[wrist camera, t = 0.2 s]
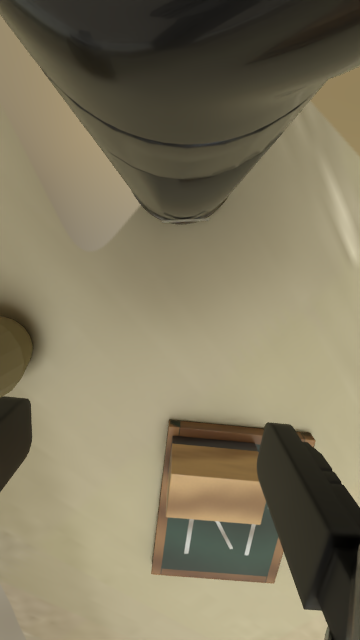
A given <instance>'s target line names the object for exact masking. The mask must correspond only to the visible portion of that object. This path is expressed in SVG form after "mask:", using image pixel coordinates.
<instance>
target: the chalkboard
mask: <svg viewBox="0 0 360 640" xmlns="http://www.w3.org/2000/svg"><path fill="white" fill-rule="evenodd" d="M263 432H264V429H262V428H251V427H241V426H230V425H219V424H209V423H198V422H188V421H176V420H169V426H168V434H167V443H166V451H165V460H164V468H163V477H162V485H161V494H160V502H159V511H158V519H157V527H156V536H155V544H154V553H153V561H152V572H151V574H155V575H167V576H181V577H194V578H207V579H221V580H234V581H248V582H261V583H274V582H275V579H276V575H277V572H278V568H279V565H280V562H281V558H282V555H283V548H282V545H281V543H280V540H279V537H278V534H277V531H276V528H275V525H274V523H273V520H272V517H271V514H270V511H269V508H268V506H267V503H266V504H265V508H264V512H263V516H262V520H261V524H260V525H255V524H243V523H231V522H219V521H207V520H195V519H183V518H170V517H166V500H167V480H168V468H169V460H170V452H171V444H172V436H183V437H194V438H205V439H216V440H226V441H237V442H248V443H255V445H256V447H257V450H258V452H259V449H260V445H261V440H262V436H263ZM296 433H297V434H298V436H299V437H300V439H301V440H302V442H308V443H309V444H310V445H311V446H312V447H314V444H315V439H314V438H313V436H312V435H311V434H310V433H303V432H296Z"/></svg>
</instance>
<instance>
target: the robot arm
mask: <svg viewBox="0 0 360 640" xmlns="http://www.w3.org/2000/svg"><path fill="white" fill-rule="evenodd" d="M0 15H1V16H2V18H3V19H4V20H5V22H6V23H7V24H8V26H9V27H10V28H11V30H12V31H13V32H14V34H15V35H16V36H17V38H18V39H19V40H20V42H21V43H22V44H23V46H24V47H25V48H26V50H27V51H28V52H29V53H30V55H31V56H32V58H33V59H34V60H35V61H36V62H37V64H38V65H39V66H40V68H41V69H42V70H43V72H44V73H45V75H46V76H47V77H48V79H49V80H50V81H51V83H52V84H53V85H54V87H55V88H56V89H57V91H58V92H59V93H60V95H61V96H62V97H63V99H64V100H65V102H66V103H67V104H68V105H69V107H70V108H71V110H72V111H73V112H74V114H75V115H76V116H77V118H78V119H79V120H80V122H81V123H82V124H83V126H84V127H85V128H86V129H87V131H88V132H89V133H90V134H91V136H92V137H93V139H94V140H95V141H96V143H97V144H98V145H99V147H100V148H101V149H102V151H103V152H104V153H105V155H106V156H107V158H108V159H109V160H110V162H111V163H112V164H113V166H114V167H115V168H116V170H117V171H118V172H119V174H120V175H121V177H122V178H123V179H124V181H125V182H126V183H127V185H128V186H129V187H130V189H131V190H132V192H133V194H134V196H135V197H136V199H137V200H138V201H139V203H140V204H141V205H142V206H143V208H144V209H145V210H147V211H148V212H149V213H150V214H151V215H153V216H154V217H156V218H158V219H160V220H162V221H161V222H162V223H172V224H191V223H195V222H198V221H208V220H209V219H210V218H207V217H209V216H210V215H211V214H213V213H214V212H215V211H216V210H217V209H218V208H219V207H220V206H221V205H222V204H223V203H224V202H225V200H226V199H227V197H228V196H229V194H230V193H231V192H232V191H233V190H234V189H235V188H236V186H237V185H238V184H239V183H240V182H241V181H242V179H243V178H244V177H245V176H246V175H247V174H248V172H249V171H250V170H251V169H252V168H253V167H254V166H255V164H256V163H257V162H258V161H259V160H260V159H261V157H262V156H263V155H264V154H265V153H266V152H267V150H268V149H269V148H270V147H271V146H272V145H273V144H274V142H275V141H276V140H277V139H278V138H279V137H280V135H281V134H282V133H283V132H284V130H285V129H286V128H287V127H288V126H289V124H290V123H291V122H292V121H293V120H294V119H295V117H296V116H297V115H298V114H299V113H300V112H301V110H302V109H303V108H304V107H305V106H306V105H307V103H308V102H309V101H310V100H311V99H312V97H313V96H314V95H315V94H316V93H317V92H318V91H319V89H320V88H321V87H322V86H323V85H324V83H325V82H326V81H327V80H328V79H330V78H333V77H336V76H339V75H341V74H344V73H346V72H348V71H350V70H353V69H355V68H357V67H360V0H0ZM31 442H32V424H31V403H30V401H29V399H25V398H15V397H1V398H0V492H1V490H2V489H3V488H4V486H5V485H6V484H7V482H8V481H9V480H10V478H11V477H12V476H13V474H14V473H15V472H16V470H17V469H18V468H19V466H20V465H21V464H22V462H23V461H24V459H25V458H26V456H27V454H28V452H29V450H30V447H31ZM257 475H258V480H259V483H260V486H261V489H262V491H263V494H264V497H265V500H266V503H267V506H268V508H269V511H270V514H271V517H272V520H273V523H274V525H275V528H276V531H277V534H278V537H279V540H280V543H281V545H282V548H283V551H284V554H285V557H286V560H287V562H288V565H289V568H290V571H291V574H292V577H293V579H294V582H295V585H296V588H297V591H298V594H299V596H300V599H301V602H302V605H303V608H304V609H308V610H322V612H323V614H324V617H325V619H326V622H327V624H328V627H327V630H326V634H325V640H360V507H359V506H358V505H357V503H356V502H355V500H354V499H353V498H352V496H351V495H350V493H349V492H348V491H347V489H346V488H345V486H344V485H342V484H341V481H340V479H339V478H338V477H337V475H336V474H335V472H333V471H332V468H331V467H330V465H329V464H328V462H327V461H326V460H325V458H324V457H323V455H322V454H321V453H319V452H318V451H317V450H316V449H315V448H314V447H312V446H311V445H310V444H309V443H308V442H302V440H301V439H300V437H299V436H298V434H297V433H296V431H295V430H294V428H293V427H292V426H291V425H289V424H279V423H267V424H266V425H265V427H264V432H263V436H262V440H261V445H260V449H259V454H258V458H257Z"/></svg>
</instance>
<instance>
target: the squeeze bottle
mask: <svg viewBox="0 0 360 640" xmlns="http://www.w3.org/2000/svg"><path fill="white" fill-rule="evenodd" d="M32 350H33V346H32V342H31V337H30V336H29V334H28V333H27V331H26V330H25V328H24V327H23V326H21V325H20V324H19V323H17V322H16V321H15V320H13V319H9V318H6V317H3V316H0V398H1V397H2V396H4V395H5V394H7V393H9V392H10V391H12V390H13V388H14V387H15V386H16V384H17V383H18V382H19V381H20V379H21V378H22V376H23V374H24V371H25V369H26V367H27V365H28V363H29V361H30V359H31V355H32Z"/></svg>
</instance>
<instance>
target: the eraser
mask: <svg viewBox="0 0 360 640" xmlns="http://www.w3.org/2000/svg"><path fill="white" fill-rule="evenodd" d="M258 454H259V452H258V450H257V447H256V445H255V443H248V442H237V441H226V440H216V439H205V438H194V437H183V436H172V444H171V452H170V460H169V468H168V480H167V500H166V517H170V518H183V519H195V520H207V521H219V522H231V523H243V524H255V525H260V524H261V520H262V516H263V512H264V508H265V504H266V500H265V497H264V494H263V491H262V489H261V486H260V483H259V480H258V475H257V458H258Z"/></svg>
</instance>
